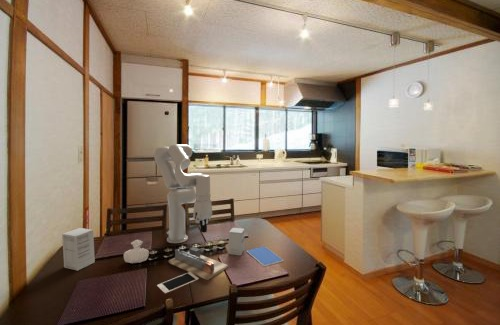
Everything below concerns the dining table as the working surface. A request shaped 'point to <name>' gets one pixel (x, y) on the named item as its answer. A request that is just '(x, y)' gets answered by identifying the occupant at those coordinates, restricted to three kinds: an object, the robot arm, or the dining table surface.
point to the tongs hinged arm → (200, 259)
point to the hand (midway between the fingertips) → (203, 231)
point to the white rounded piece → (136, 253)
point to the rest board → (217, 269)
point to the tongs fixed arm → (193, 262)
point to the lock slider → (194, 251)
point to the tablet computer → (264, 256)
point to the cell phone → (177, 282)
